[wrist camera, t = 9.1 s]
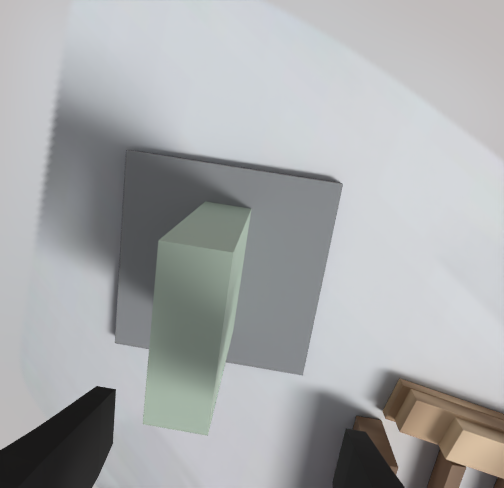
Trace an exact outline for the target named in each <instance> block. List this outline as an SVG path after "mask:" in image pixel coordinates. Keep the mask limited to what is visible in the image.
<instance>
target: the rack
mask: <svg viewBox="0 0 504 488" xmlns="http://www.w3.org/2000/svg"><path fill="white" fill-rule="evenodd" d="M353 430H358V431H364V432H366V433H367V434H368V436H369V437H370V439H371V440H372V441H373V443H374V444H375V446H376V447H377V449H378V450H379V452H380V453H381V455H382V456H383V458H384V459H385V460H386V462H387V463H388V465H389V466H390V468H391V469H392V471H393V472H394V473H395V475H396V473H397V470H398V465H397V463H396V460H395V457H394V454H393V452H392V449H391V446H390V443H389V441H388V438H387V435H386V432H385V429H384V427H383V424H382V421H381V420H378V419H372V418H366V417H360V416H356V419H355V423H354V426H353ZM465 470H466V466H464V465H461V464H458V463H455V462H452V461H449V460H446V459H445V457H444V455H443V453H442V451H441V449H440V451H439V454H438V457H437V460H436V463H435V465H434V468H433V471H432V474H431V477H430V480H429V483H428V486H427V488H459V486H460V483H461V480H462V478H463V475H464V472H465ZM494 488H504V479H503V478H500V477H498V478H497V481H496V483H495V486H494Z"/></svg>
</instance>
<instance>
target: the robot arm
mask: <svg viewBox="0 0 504 488" xmlns="http://www.w3.org/2000/svg"><path fill="white" fill-rule="evenodd" d="M115 395H116V389H111V388H105V387H99V386H96V387H95V388H93V389H92V390H91V391H89V392H88V393H86V394H85V395H83V396H82V397H80V398H79V399H78V400H76V401H75V402H73V403H72V404H71V405H69V406H68V407H66V408H65V409H63V410H62V411H61V412H59V413H58V414H56V415H55V416H53V417H52V418H50V419H49V420H47V421H46V422H44V423H43V424H41V425H40V426H39V427H37V428H36V429H34V430H32V431H31V432H29V433H28V434H26V435H25V436H23V437H21V438H20V439H18V440H16V441H15V442H13V443H12V444H10V445H8V446H7V447H5V448H3V449H2V450H0V488H92V487H93V485H94V483H95V481H96V480H97V478H98V476H99V474H100V472H101V469H102V467H103V465H104V463H105V460H106V458H107V456H108V453H109V451H110V449H111V446H112V444H113V430H114V413H115ZM333 488H405V487H404V486H403V484H402V483H401V482H400V480H399V479H398V478H397V476H396V475H395V473H394V472H393V471H392V469H391V468H390V466H389V465H388V463H387V462H386V460H385V459H384V458H383V456H382V455H381V453H380V452H379V450H378V449H377V447H376V446H375V444H374V443H373V441H372V440H371V439H370V437H369V436H368V434H367V433H366V432H364V431H358V430H353V429H347V428H346V430H345V434H344V438H343V442H342V446H341V450H340V454H339V458H338V462H337V466H336V470H335V474H334V478H333Z"/></svg>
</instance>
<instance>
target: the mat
mask: <svg viewBox="0 0 504 488" xmlns="http://www.w3.org/2000/svg"><path fill="white" fill-rule="evenodd" d="M342 186H343V184H342V183H338V182H332V181H325V180H319V179H312V178H306V177H300V176H293V175H287V174H280V173H274V172H268V171H261V170H255V169H248V168H242V167H236V166H229V165H223V164H216V163H210V162H204V161H197V160H191V159H184V158H178V157H172V156H165V155H159V154H152V153H146V152H140V151H133V150H126V163H125V180H124V197H123V214H122V231H121V248H120V265H119V282H118V299H117V316H116V333H115V343H117V344H122V345H128V346H134V347H140V348H146V349H149V345H150V334H151V322H152V310H153V299H154V287H155V275H156V264H157V252H158V240H160V239H161V238H162V237H163V236H164V235H166V234H167V233H168V232H169V231H170V230H172V229H173V228H174V227H175V226H176V225H178V224H179V223H180V222H181V221H183V220H184V219H185V218H186V217H187V216H189V215H190V214H191V213H192V212H193V211H195V210H196V209H197V208H198V207H199V206H201V205H202V204H203V203H204V202H205V201H206V202H212V203H218V204H224V205H231V206H237V207H243V208H250V209H251V215H250V222H249V229H248V235H247V242H246V249H245V255H244V262H243V269H242V275H241V282H240V289H239V295H238V302H237V309H236V316H235V322H234V329H233V334H232V338H231V342H230V346H229V350H228V354H227V358H226V362H228V363H234V364H239V365H245V366H251V367H257V368H263V369H269V370H275V371H280V372H286V373H292V374H298V375H303V371H304V367H305V362H306V357H307V352H308V348H309V343H310V338H311V333H312V329H313V324H314V319H315V314H316V310H317V305H318V300H319V295H320V291H321V286H322V281H323V276H324V272H325V267H326V262H327V257H328V253H329V248H330V243H331V238H332V234H333V229H334V224H335V219H336V215H337V210H338V205H339V200H340V196H341V191H342Z"/></svg>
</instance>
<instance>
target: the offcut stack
mask: <svg viewBox="0 0 504 488" xmlns="http://www.w3.org/2000/svg"><path fill="white" fill-rule="evenodd" d="M383 414H384V416H385V419H388V420H391V421H394V422H396V424H397V427H398V429H399V431H400V432H402V433H405V434H407V435H410V436H413V437H416V438H419V439H422V440H425V441H428V442H431V443H434V444H437V445H439V447H440V449H441V451H442V453H443V455H444V457H445V459H446V460H449V461H452V462H455V463H458V464H461V465H464V466H467V467H470V468H473V469H476V470H479V471H482V472H485V473H488V474H491V475H494V476H497V477H500V478H503V479H504V414H502V413H500V412H497V411H494V410H491V409H488V408H485V407H482V406H479V405H476V404H473V403H470V402H467V401H464V400H461V399H459V398H456V397H453V396H450V395H447V394H444V393H441V392H438V391H435V390H432V389H429V388H426V387H423V386H421V385H418V384H415V383H412V382H409V381H406V380H403V379H400V378H399V380H398V382H397V384H396V386H395V388H394V390H393V392H392V394H391V396H390V398H389V400H388V402H387V404H386V405H385V407H384V409H383Z"/></svg>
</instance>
